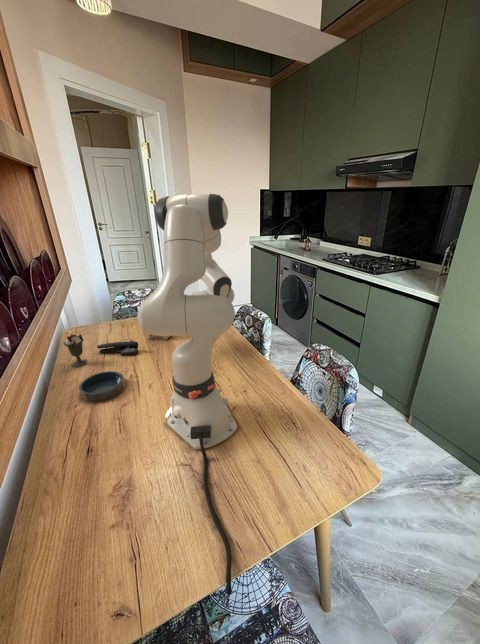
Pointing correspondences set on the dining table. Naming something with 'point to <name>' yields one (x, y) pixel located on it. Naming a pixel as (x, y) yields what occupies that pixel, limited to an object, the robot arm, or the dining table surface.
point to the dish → (102, 386)
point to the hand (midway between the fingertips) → (168, 308)
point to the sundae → (75, 348)
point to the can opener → (120, 347)
